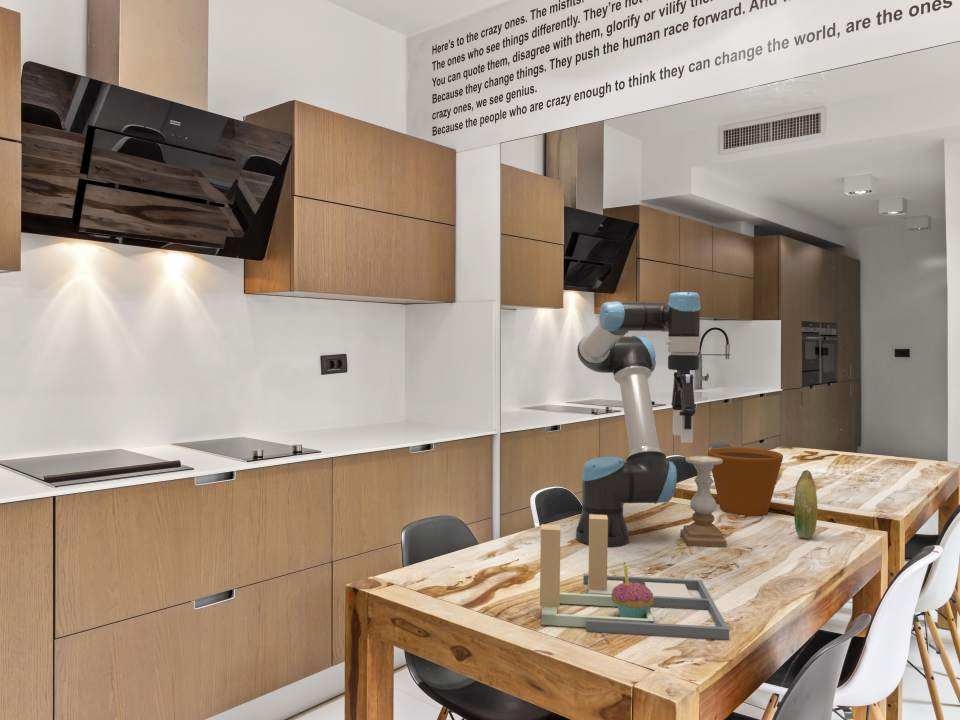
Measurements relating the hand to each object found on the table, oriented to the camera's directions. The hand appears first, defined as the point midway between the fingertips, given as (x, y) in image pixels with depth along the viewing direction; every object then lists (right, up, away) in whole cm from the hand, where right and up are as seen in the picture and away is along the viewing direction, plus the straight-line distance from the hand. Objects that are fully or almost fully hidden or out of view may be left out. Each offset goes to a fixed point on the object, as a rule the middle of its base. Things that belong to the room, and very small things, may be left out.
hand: (682, 438), depth 176 cm
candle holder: (+13, -32, +24) cm, 43 cm away
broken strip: (-15, -33, -19) cm, 41 cm away
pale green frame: (-27, -33, -31) cm, 53 cm away
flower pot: (+38, -32, +61) cm, 79 cm away
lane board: (-15, -33, -26) cm, 45 cm away
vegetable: (+44, -33, +28) cm, 61 cm away
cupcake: (-19, -34, -31) cm, 50 cm away
